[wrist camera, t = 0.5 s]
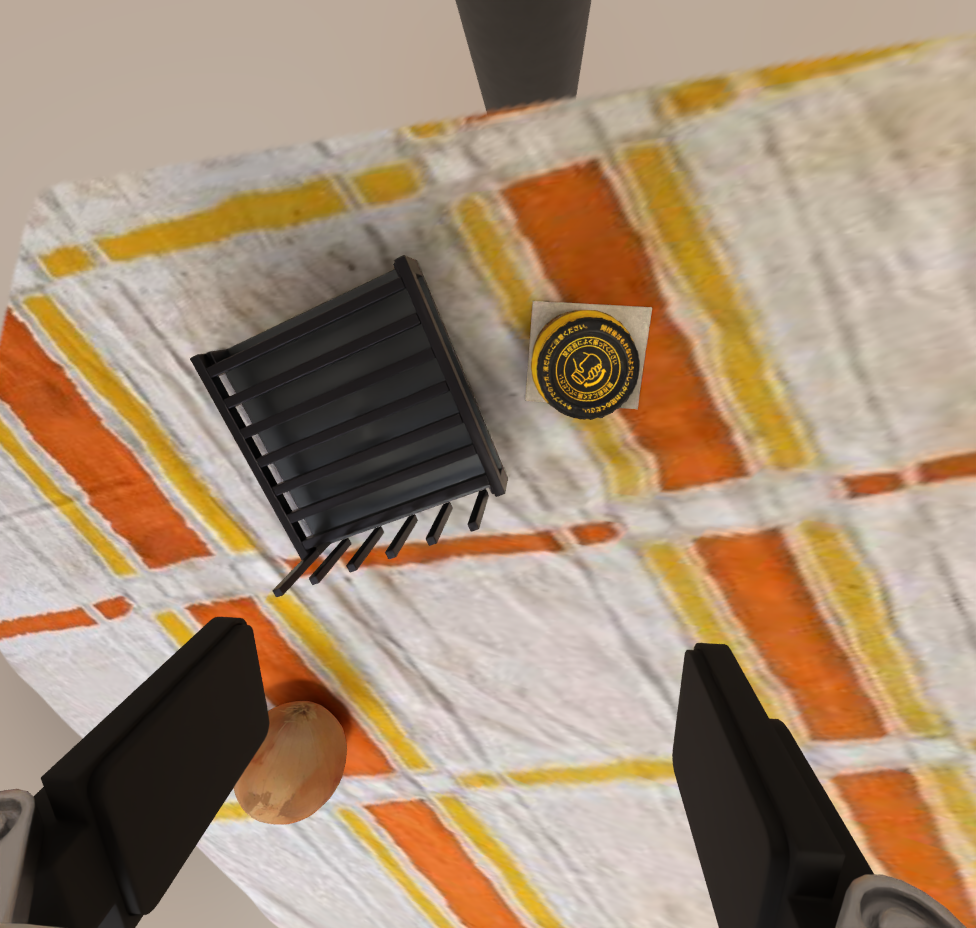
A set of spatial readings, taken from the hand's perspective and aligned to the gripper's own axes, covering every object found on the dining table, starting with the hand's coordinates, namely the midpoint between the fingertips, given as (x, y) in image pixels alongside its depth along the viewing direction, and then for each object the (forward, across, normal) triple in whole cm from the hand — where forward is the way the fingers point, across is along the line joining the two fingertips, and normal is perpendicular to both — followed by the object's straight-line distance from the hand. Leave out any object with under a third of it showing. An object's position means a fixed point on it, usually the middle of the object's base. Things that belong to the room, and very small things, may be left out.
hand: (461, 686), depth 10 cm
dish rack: (+29, +13, 0) cm, 32 cm away
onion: (+29, +21, +31) cm, 48 cm away
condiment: (+29, -5, -4) cm, 30 cm away
